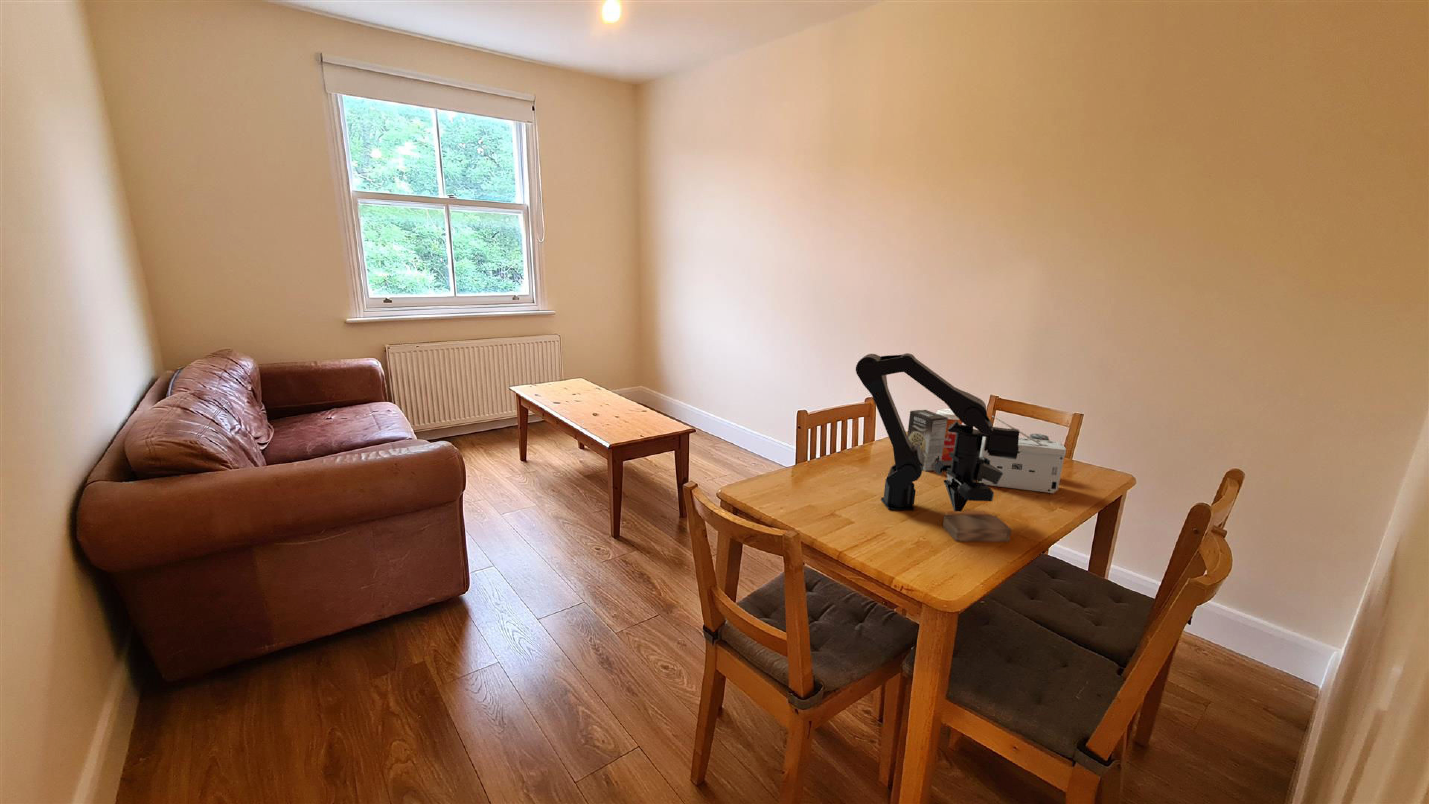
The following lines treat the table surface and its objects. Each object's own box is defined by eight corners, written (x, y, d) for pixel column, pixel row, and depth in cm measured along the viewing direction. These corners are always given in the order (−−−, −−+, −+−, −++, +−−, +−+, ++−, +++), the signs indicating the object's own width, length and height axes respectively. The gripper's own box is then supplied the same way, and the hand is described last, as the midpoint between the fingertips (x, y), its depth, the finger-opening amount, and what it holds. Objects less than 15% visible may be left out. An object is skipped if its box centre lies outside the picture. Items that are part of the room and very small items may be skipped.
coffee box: (902, 461, 174) (909, 410, 170) (918, 459, 177) (925, 408, 173) (925, 471, 166) (932, 418, 162) (941, 468, 169) (948, 416, 165)
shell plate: (960, 539, 127) (962, 526, 126) (945, 522, 134) (946, 511, 134) (1000, 539, 127) (1002, 527, 126) (982, 523, 135) (984, 511, 134)
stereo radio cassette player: (1051, 485, 159) (1064, 416, 154) (1060, 496, 152) (1074, 424, 147) (971, 475, 165) (981, 408, 160) (975, 486, 157) (986, 416, 152)
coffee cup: (925, 457, 179) (931, 410, 175) (937, 451, 185) (943, 406, 181) (951, 464, 173) (958, 416, 169) (963, 458, 179) (969, 412, 175)
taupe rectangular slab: (956, 541, 125) (957, 528, 124) (942, 526, 132) (944, 514, 131) (1009, 541, 126) (1011, 529, 125) (993, 527, 132) (995, 515, 132)
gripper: (1022, 466, 124) (1010, 532, 128) (981, 440, 142) (972, 497, 146) (972, 465, 124) (961, 530, 128) (937, 438, 142) (929, 496, 146)
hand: (957, 513), depth 137 cm, fingers closed
